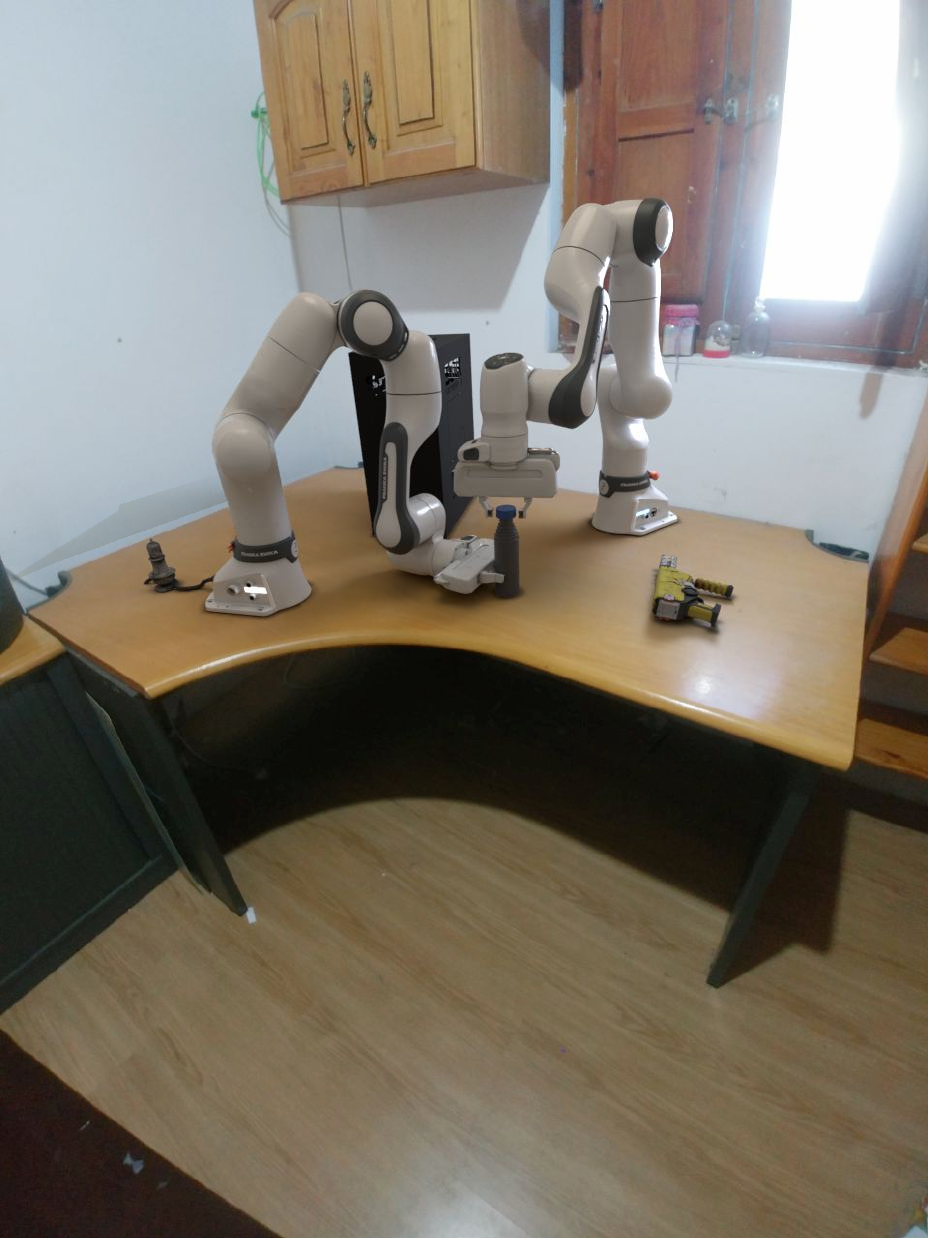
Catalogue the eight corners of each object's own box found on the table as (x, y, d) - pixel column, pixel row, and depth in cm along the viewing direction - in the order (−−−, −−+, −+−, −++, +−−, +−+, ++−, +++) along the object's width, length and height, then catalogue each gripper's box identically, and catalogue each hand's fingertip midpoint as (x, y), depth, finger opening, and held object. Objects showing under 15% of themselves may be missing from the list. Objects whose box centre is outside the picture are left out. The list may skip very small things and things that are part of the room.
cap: (492, 518, 120) (492, 509, 119) (502, 511, 123) (501, 503, 122) (510, 521, 118) (510, 512, 117) (519, 514, 121) (519, 505, 120)
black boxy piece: (446, 538, 156) (432, 350, 134) (372, 535, 161) (348, 352, 138) (476, 491, 188) (469, 333, 165) (414, 490, 192) (399, 335, 170)
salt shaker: (170, 592, 137) (153, 544, 131) (147, 591, 138) (130, 543, 132) (185, 581, 142) (170, 533, 136) (163, 580, 143) (147, 532, 137)
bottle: (524, 591, 129) (524, 509, 120) (508, 600, 126) (507, 516, 117) (506, 584, 132) (504, 504, 123) (490, 593, 129) (487, 511, 120)
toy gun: (733, 563, 128) (661, 551, 132) (740, 613, 108) (654, 597, 112) (728, 583, 130) (657, 571, 134) (732, 635, 110) (649, 619, 114)
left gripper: (427, 566, 123) (488, 578, 117) (474, 531, 138) (530, 540, 132) (430, 594, 126) (489, 606, 120) (475, 556, 142) (529, 566, 135)
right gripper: (561, 443, 114) (559, 513, 121) (456, 443, 119) (460, 510, 125) (559, 452, 109) (557, 524, 116) (449, 451, 113) (453, 521, 120)
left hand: (511, 571), depth 126 cm, fingers closed on bottle, 5 cm apart
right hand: (506, 517), depth 121 cm, fingers open, 5 cm apart
